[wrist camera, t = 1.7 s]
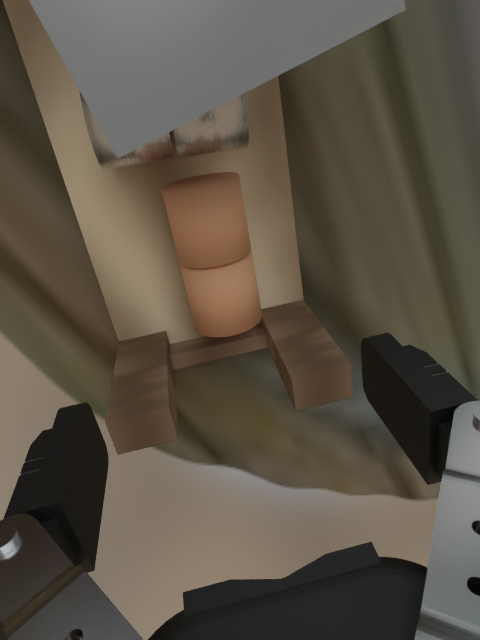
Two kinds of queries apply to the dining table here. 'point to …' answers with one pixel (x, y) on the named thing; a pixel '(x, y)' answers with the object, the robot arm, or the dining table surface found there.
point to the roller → (214, 252)
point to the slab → (189, 53)
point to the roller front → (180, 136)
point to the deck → (162, 260)
